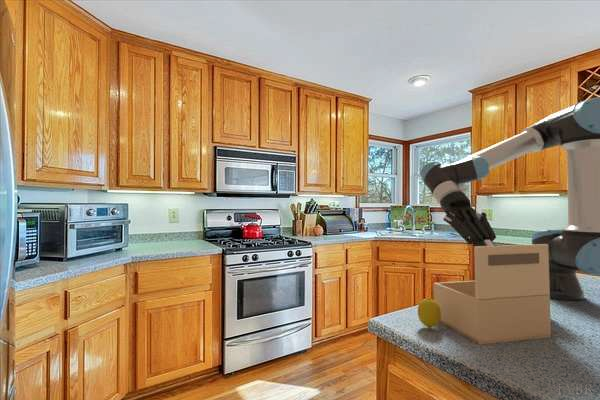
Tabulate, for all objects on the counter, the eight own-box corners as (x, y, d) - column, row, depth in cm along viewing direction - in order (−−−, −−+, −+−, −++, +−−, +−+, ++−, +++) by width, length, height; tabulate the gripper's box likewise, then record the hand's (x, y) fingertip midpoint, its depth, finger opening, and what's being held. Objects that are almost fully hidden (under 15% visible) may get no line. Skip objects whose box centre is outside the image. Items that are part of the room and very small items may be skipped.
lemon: (431, 334, 71) (430, 301, 72) (413, 326, 76) (412, 296, 76) (446, 330, 74) (445, 298, 74) (427, 322, 79) (427, 293, 79)
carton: (494, 313, 85) (493, 279, 86) (551, 336, 70) (549, 295, 70) (434, 318, 82) (433, 282, 82) (479, 344, 66) (478, 300, 66)
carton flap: (546, 293, 71) (544, 244, 71) (550, 294, 70) (549, 244, 70) (475, 298, 67) (474, 246, 67) (478, 299, 66) (477, 246, 66)
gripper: (463, 207, 93) (512, 271, 76) (427, 207, 90) (469, 273, 73) (476, 190, 88) (531, 253, 71) (438, 189, 85) (485, 255, 68)
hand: (499, 263), depth 72 cm, fingers closed
